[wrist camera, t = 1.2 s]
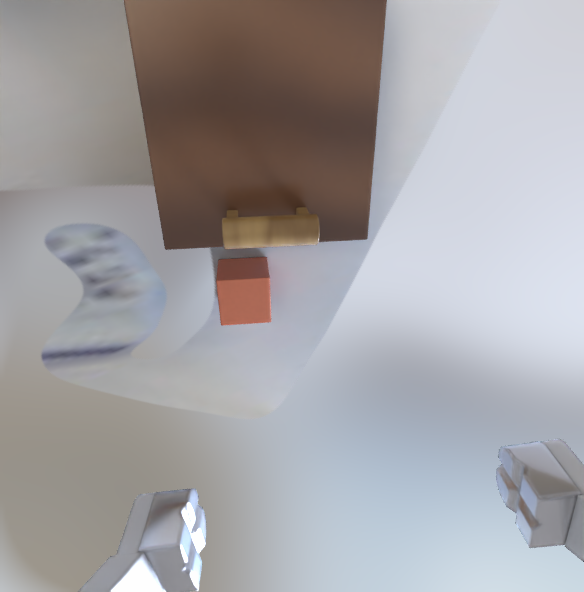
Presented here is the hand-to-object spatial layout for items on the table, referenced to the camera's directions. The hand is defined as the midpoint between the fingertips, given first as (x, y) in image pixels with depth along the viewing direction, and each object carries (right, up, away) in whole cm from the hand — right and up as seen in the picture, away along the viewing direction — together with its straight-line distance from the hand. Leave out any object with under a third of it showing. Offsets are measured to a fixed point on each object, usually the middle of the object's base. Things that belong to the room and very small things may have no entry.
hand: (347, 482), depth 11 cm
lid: (-3, +16, +14) cm, 22 cm away
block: (-6, +7, +29) cm, 30 cm away
